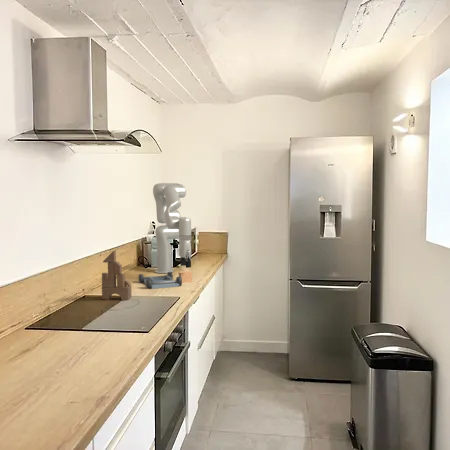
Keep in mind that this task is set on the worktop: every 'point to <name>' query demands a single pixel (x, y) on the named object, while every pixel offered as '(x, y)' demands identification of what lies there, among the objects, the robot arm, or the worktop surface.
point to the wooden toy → (110, 280)
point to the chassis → (160, 281)
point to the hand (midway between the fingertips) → (185, 266)
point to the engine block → (186, 276)
